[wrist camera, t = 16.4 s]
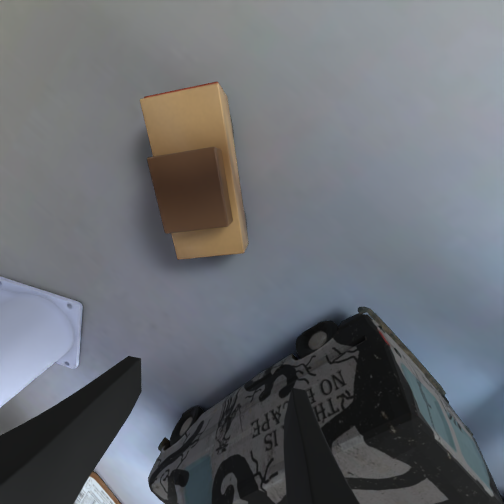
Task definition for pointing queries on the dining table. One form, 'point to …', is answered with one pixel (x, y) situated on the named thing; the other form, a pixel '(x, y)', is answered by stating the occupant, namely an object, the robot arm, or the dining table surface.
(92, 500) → the tin
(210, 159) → the wooden car
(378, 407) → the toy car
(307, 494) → the robot arm
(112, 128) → the dining table surface
